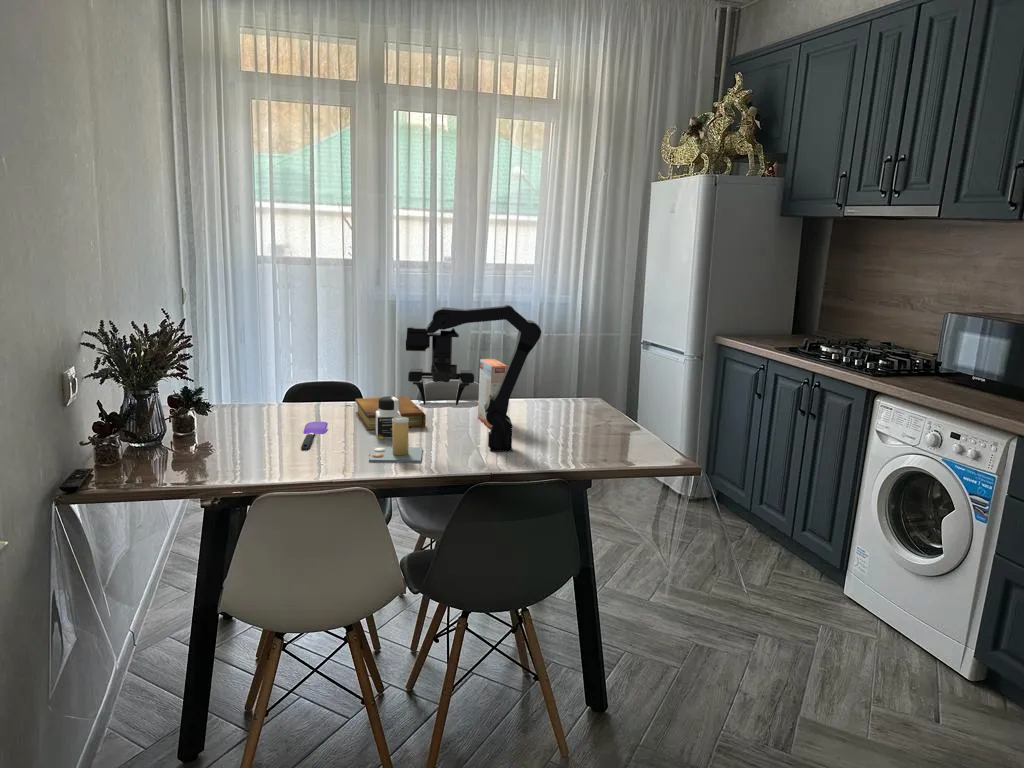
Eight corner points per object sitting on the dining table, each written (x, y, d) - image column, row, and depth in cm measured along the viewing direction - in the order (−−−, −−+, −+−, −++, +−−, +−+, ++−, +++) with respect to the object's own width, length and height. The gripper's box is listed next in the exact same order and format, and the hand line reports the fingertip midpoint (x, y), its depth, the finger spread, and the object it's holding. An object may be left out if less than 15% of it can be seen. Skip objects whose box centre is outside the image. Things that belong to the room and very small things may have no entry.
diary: (425, 429, 227) (425, 412, 226) (367, 433, 220) (367, 415, 219) (408, 411, 248) (409, 395, 246) (355, 414, 241) (355, 398, 239)
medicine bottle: (377, 439, 212) (377, 400, 209) (375, 432, 219) (375, 395, 216) (401, 438, 214) (401, 400, 211) (398, 431, 221) (398, 394, 218)
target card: (422, 449, 204) (422, 446, 203) (420, 462, 192) (420, 459, 192) (373, 448, 202) (373, 445, 202) (369, 461, 191) (369, 458, 190)
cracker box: (506, 428, 230) (508, 365, 226) (488, 428, 228) (490, 366, 224) (494, 417, 243) (496, 358, 239) (477, 417, 241) (479, 358, 237)
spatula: (316, 452, 198) (315, 443, 198) (291, 451, 198) (291, 443, 197) (328, 429, 222) (328, 421, 221) (306, 428, 221) (306, 421, 220)
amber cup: (411, 451, 199) (411, 417, 197) (405, 456, 194) (405, 421, 192) (395, 450, 200) (395, 416, 198) (389, 454, 195) (389, 420, 193)
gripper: (407, 355, 191) (406, 411, 195) (475, 357, 193) (473, 412, 196) (409, 349, 202) (408, 401, 205) (474, 351, 204) (472, 403, 207)
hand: (440, 404), depth 203 cm, fingers open, 9 cm apart
